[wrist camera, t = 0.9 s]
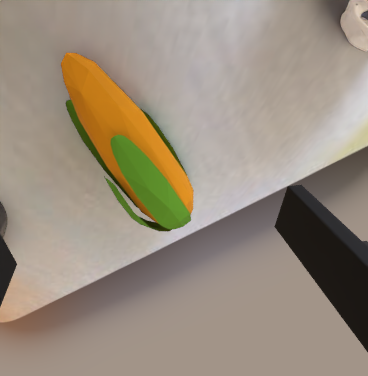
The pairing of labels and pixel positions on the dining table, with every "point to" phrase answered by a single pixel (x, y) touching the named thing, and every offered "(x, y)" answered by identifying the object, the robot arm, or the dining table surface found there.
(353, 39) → the skull bowl
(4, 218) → the pot
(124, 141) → the corn
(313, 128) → the dining table surface
